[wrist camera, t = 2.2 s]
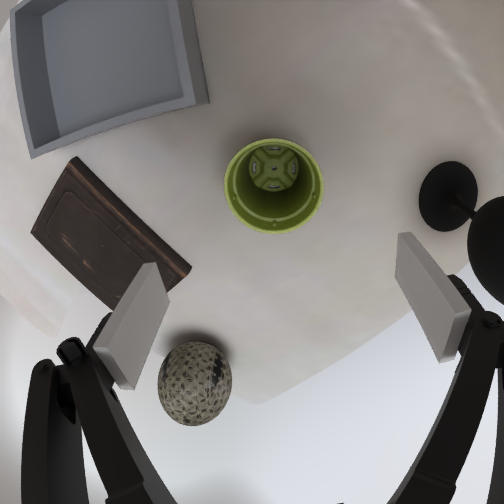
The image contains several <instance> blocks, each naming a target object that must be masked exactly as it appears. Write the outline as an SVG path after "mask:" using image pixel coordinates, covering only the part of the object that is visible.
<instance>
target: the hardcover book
mask: <svg viewBox="0 0 504 504" xmlns="http://www.w3.org/2000/svg"><path fill="white" fill-rule="evenodd" d="M30 233H31V234H32V235H33V236H34V237H35V238H36V239H37V240H38V241H39V242H40V243H41V244H42V245H43V246H44V247H45V248H46V249H47V250H48V251H49V252H50V254H51V255H52V256H53V257H54V258H55V259H57V260H58V261H59V262H60V263H61V264H62V265H63V266H64V267H65V268H66V269H67V270H68V271H69V272H70V273H71V274H72V275H73V276H74V277H75V278H76V279H77V280H78V281H80V282H81V283H82V284H83V285H84V286H85V287H86V288H87V289H88V290H89V291H91V292H92V293H93V294H94V295H95V296H96V297H97V298H98V299H100V300H101V301H102V302H103V303H104V304H105V305H107V306H108V307H109V308H110V309H111V310H112V311H114V310H115V308H116V306H117V305H118V303H119V301H120V300H121V298H122V297H123V295H124V293H125V292H126V290H127V289H128V287H129V286H130V284H131V282H132V281H133V279H134V278H135V276H136V275H137V273H138V271H139V270H140V268H141V267H142V265H143V264H145V263H153V262H156V265H157V268H158V270H159V273H160V276H161V279H162V282H163V284H164V287H165V290H166V292H168V291H170V290H171V289H172V288H173V287H174V286H175V285H177V284H178V283H179V282H180V281H181V280H182V279H184V278H185V277H186V276H187V275H188V274H189V272H190V271H191V268H192V266H191V265H190V264H189V263H188V262H186V261H185V260H184V259H183V258H182V257H181V256H180V255H179V254H178V253H177V252H175V251H174V250H173V249H172V248H171V247H170V246H169V245H168V244H167V243H166V242H165V241H164V240H162V239H161V238H160V237H159V236H158V235H157V234H156V233H155V232H154V231H153V230H152V229H151V228H150V227H149V226H147V225H146V224H145V223H144V222H143V221H142V220H141V219H140V218H139V217H138V216H137V215H136V214H135V213H134V212H133V211H132V210H131V209H130V208H129V207H128V206H127V205H126V204H124V203H123V202H122V201H121V200H120V199H119V198H118V197H117V196H116V195H115V194H114V193H113V192H112V191H111V190H110V189H109V188H108V187H107V186H106V185H105V184H104V183H103V182H102V181H101V180H100V179H99V178H98V177H97V176H96V175H95V174H94V173H93V172H92V171H91V170H90V169H89V168H88V167H87V166H86V165H85V164H84V163H83V162H82V161H81V160H80V159H79V158H78V157H74V158H72V159H71V160H70V161H69V162H68V164H67V166H66V167H65V169H64V170H63V172H62V174H61V175H60V177H59V179H58V181H57V182H56V184H55V186H54V188H53V189H52V191H51V193H50V195H49V197H48V198H47V200H46V202H45V204H44V206H43V208H42V210H41V212H40V214H39V216H38V218H37V220H36V222H35V224H34V226H33V228H32V230H31V232H30Z"/></svg>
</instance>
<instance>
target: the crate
mask: <svg viewBox="0 0 504 504" xmlns="http://www.w3.org/2000/svg"><path fill="white" fill-rule="evenodd" d="M10 31H11V47H12V59H13V68H14V76H15V84H16V90H17V97H18V102H19V108H20V113H21V118H22V123H23V128H24V132H25V137H26V141H27V145H28V149H29V153H30V157H31V159H33V158H36V157H38V156H41V155H43V154H45V153H48V152H50V151H53V150H55V149H58V148H61V147H63V146H66V145H68V144H71V143H73V142H76V141H78V140H81V139H84V138H86V137H89V136H92V135H95V134H98V133H100V132H103V131H106V130H109V129H112V128H115V127H118V126H122V125H125V124H128V123H131V122H135V121H138V120H141V119H145V118H148V117H152V116H156V115H159V114H163V113H167V112H171V111H175V110H179V109H183V108H187V107H192V106H196V105H201V104H206V103H210V101H209V95H208V90H207V85H206V79H205V74H204V69H203V63H202V58H201V53H200V47H199V42H198V36H197V31H196V25H195V20H194V14H193V8H192V3H191V0H23V1H22V2H20V3H19V4H18V5H16V6H15V7H14V8H12V9H11V10H10Z"/></svg>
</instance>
